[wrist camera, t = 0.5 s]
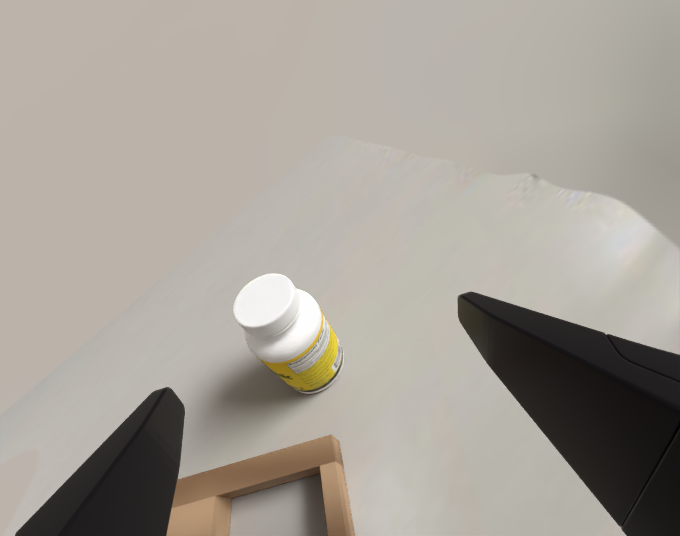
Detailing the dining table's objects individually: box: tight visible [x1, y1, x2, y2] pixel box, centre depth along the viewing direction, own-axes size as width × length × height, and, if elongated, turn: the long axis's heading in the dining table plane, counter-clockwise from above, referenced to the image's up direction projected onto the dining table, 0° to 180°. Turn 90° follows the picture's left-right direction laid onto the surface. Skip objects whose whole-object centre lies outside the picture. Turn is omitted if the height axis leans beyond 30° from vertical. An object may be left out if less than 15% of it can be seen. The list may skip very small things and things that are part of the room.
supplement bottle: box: [233, 274, 344, 394], centre depth 21 cm, size 5×5×10 cm
